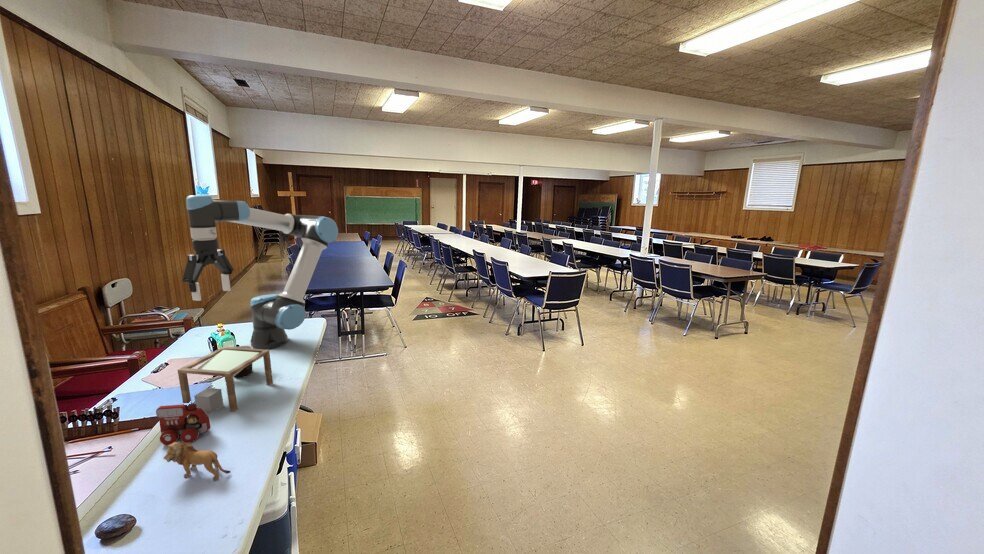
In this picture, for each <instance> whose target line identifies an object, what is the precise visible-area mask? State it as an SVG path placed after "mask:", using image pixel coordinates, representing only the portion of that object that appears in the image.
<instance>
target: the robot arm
mask: <svg viewBox="0 0 984 554" xmlns="http://www.w3.org/2000/svg"><path fill="white" fill-rule="evenodd" d="M185 200H186V202H185V205H186V210H187V218H188V222H189V231H190V238H191V239H192V241H191V244H192V245H191V246H192V250H194V252H195V253H194V254H187V255H186V257H187V261H186V267H185V269H184V273H183V276H182V279H181V280H182V281H181V282H182V283H186V284H188V287H189V292H190V293H191V297H192V301H197V302H200V301H202V295H201V287H200V283H199V282H197V281H198V280H199V278H200V276H201V275H202V272H203V270H204V268H205V267H207V266H208V265H211V264H212V265H213V266H214V267H216V268H217V270H219V271H220V272H221V274H220V278H221V288H222V292H231V291H232V289H231V275H232V274H233V272H234V268H233V266H232V264H231V262H230V260H229V258H228V257H227V255H226V253H225V249H219V240H218V239H217V237H218V235H217V227H216V226H217V225H216V224H217V222H218V223H219V222H228V223H235V224H241V225H244V226H245V225H247V226H251V227H252V226H253V227H256V228H257V227H258V228H264V229H268V230H275V231H280V232H282V233H283V234H285V235H290V236H293V237H298V238H300V239H301V241H302V246H301V249H300V251H299V253H298V255H297V258H296V260H295V263H294V265H293V268H292V270H291V271H290V275H289V277H288V279H287V282H286V284H285V286H284V288H283V291H282V292H281V293H279V294H278V293H272V294H263V295H257V296H254V297H253V298H251V299H250V305H249V306H250V311H251V319H252V321H251V322H252V328H253V330H252V334H251V339H250V346H251V347H253V349H263V350H270V349H274V348H279V347H281V346H283V345H285V344H287V343H288V341H289V338H288V335H287V332H286V331H285V330H288V331H289V330H295V329H296V328H298V327H300V326H301V325H302V324H303V323H304V322H305V319H306V316H307V312H306V309H305V304H306V301H305V300H304V297H305V296H306V295H305V294H306V292H307V289H308V288H309V284H310V282H311V279H312V277H313V275H314V271H315V269H316V266H317V265H318V261H319V259H320V257H321V255H322V252H323V251H325V250H326V249H328V246H329V244H330V243H332V242H334V241H336V240H337V237H338V235H339V228H338V226H337V225H338V224H337V222H335V220H334V219H333V218H330V217H326V216H323V215H321V216H320V215H309V214H293V213H292V214H291V213H285V214H281V213H279V212H278V213H277V212H272V211H267V210H264V209H263V210H262V209H257V208H253V207H250V206H249V205H248V203H247V202H246V201H244V200H223V199H222V200H220V199H213V197H212V196H211V195H191V194H190V195H188V196H187V197H186V199H185Z"/></svg>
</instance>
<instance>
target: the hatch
mask: <svg viewBox="0 0 984 554" xmlns="http://www.w3.org/2000/svg"><path fill="white" fill-rule="evenodd" d="M259 353H260V352H247V351H234V350H222V351H221V352H220V353H218V354H217V355H215V356H214V357H212V358H210V359H208V360H206V361H205V362H203V364H201V365H200V366H199V367H198V368H197V369H204V370H216V371H228V372H229V371H230V370H232V369H234V368H235V367H237V366H239V365H240V364H242V363H244V362H245V361H247V360H249V359H251V358H252V357H254V356H256V355H257V354H259ZM243 369H244V368H243ZM240 371H241V370H240ZM240 371H238V372H237V373H235V374H233V378H235V377H234V376H235V375H236V374H238V373H239V372H240Z"/></svg>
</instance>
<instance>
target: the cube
mask: <svg viewBox="0 0 984 554" xmlns="http://www.w3.org/2000/svg"><path fill="white" fill-rule="evenodd" d="M194 402H195V404H196V406H197V407H196V408H201V409H202V410H203V411H204V412H205V414H210V415H211V414H213V413H214V412H215V411H217V410H219V409H221V408H222V407H223V406H224V399H223V393H222V389H221V388H211V387H210V388H209V387H206V388H205V389H203V390H202V391H200V392H199V393H196V394H195V395H194Z"/></svg>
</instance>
